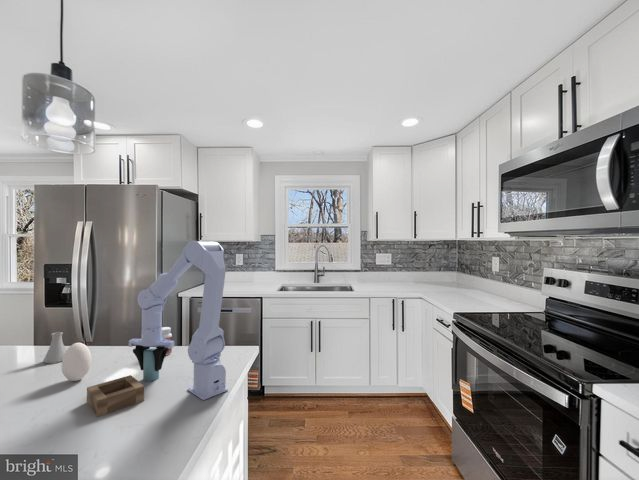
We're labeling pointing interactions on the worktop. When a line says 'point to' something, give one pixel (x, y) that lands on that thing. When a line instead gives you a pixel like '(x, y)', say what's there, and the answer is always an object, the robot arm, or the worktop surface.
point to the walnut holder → (114, 395)
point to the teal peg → (149, 366)
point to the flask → (55, 349)
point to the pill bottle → (167, 336)
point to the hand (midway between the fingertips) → (151, 369)
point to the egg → (76, 362)
